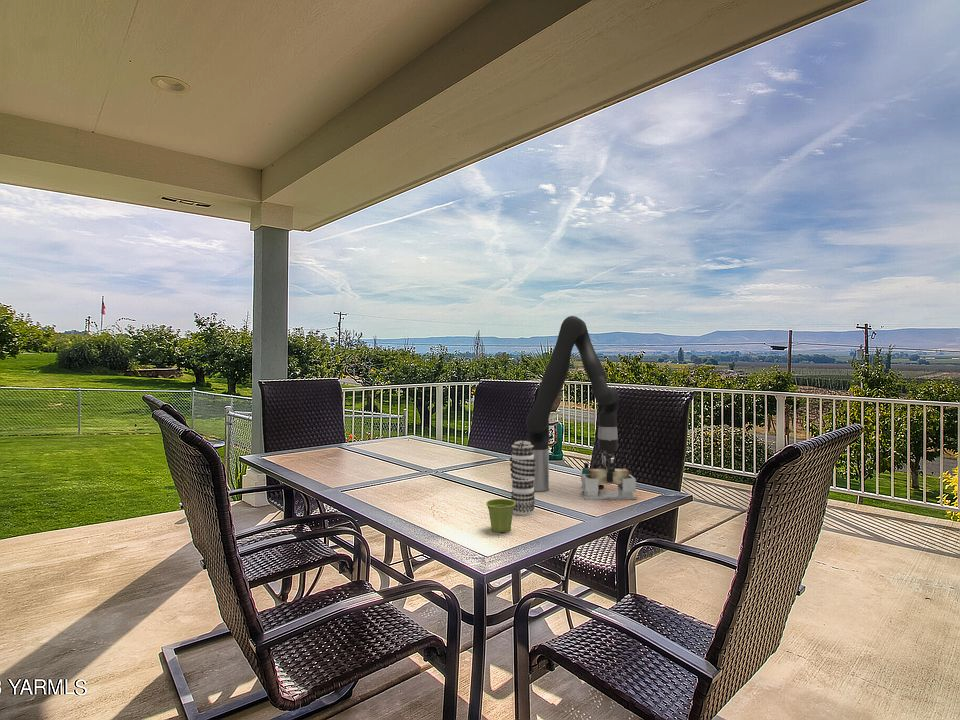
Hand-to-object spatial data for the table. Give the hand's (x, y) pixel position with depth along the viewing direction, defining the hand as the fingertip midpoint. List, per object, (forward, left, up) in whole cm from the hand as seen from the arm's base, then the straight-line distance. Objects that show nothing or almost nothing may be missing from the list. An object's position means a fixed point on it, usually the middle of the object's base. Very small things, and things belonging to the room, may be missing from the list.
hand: (608, 480), depth 197 cm
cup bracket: (0, 0, -6) cm, 6 cm away
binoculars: (-3, +14, -7) cm, 16 cm away
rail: (0, 0, -1) cm, 1 cm away
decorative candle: (-35, -21, -7) cm, 41 cm away
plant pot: (-43, -41, -7) cm, 60 cm away
